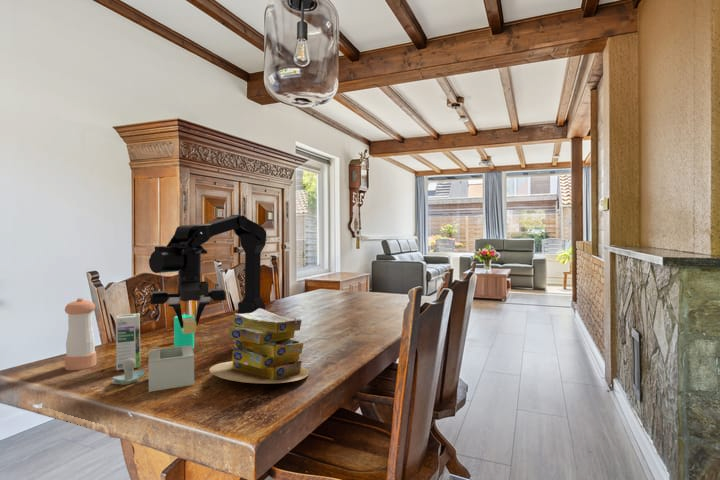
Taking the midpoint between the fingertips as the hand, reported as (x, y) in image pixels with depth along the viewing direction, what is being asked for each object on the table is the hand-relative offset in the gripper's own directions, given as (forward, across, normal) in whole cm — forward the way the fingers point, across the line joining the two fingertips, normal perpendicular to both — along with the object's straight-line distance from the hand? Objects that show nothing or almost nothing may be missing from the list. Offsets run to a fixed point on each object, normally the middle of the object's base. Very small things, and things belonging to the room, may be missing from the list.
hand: (188, 327), depth 110 cm
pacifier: (+12, -14, -3) cm, 19 cm away
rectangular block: (+1, 0, 0) cm, 1 cm away
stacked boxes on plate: (+12, +16, -15) cm, 25 cm away
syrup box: (+12, -15, +10) cm, 22 cm away
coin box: (+12, -4, -8) cm, 15 cm away
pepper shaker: (+12, -27, +16) cm, 34 cm away
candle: (+12, 0, +22) cm, 25 cm away
